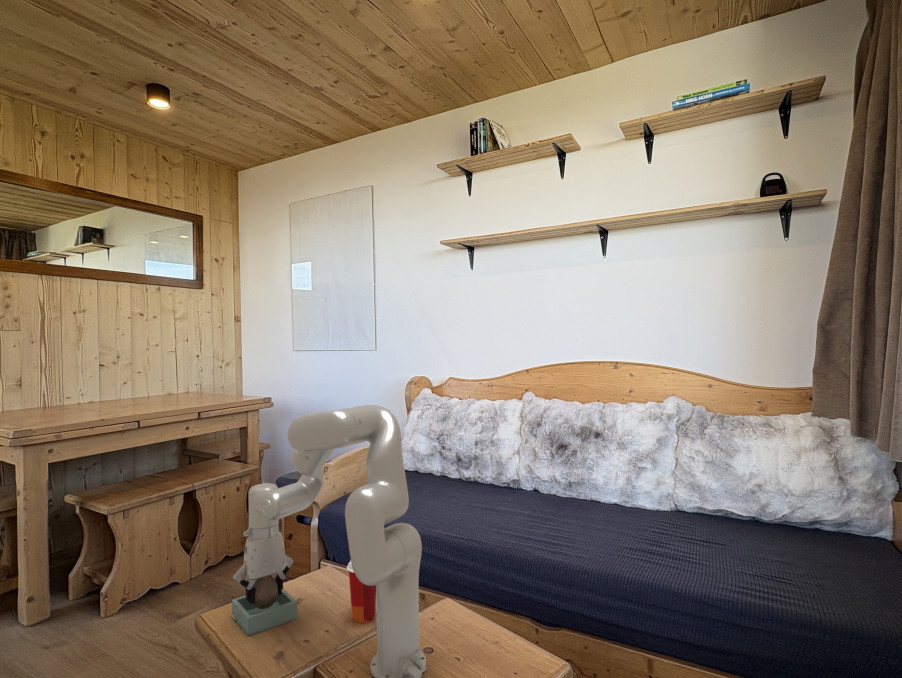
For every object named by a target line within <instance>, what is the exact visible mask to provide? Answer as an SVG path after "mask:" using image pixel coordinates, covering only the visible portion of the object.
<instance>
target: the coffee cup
mask: <svg viewBox="0 0 902 678" xmlns="http://www.w3.org/2000/svg"><path fill="white" fill-rule="evenodd" d="M346 570H347V571H348V575H349V576H348V578H349V580H348V581H349V591H350V604H351V616H352V620H353V622H354V623H357V624H367V623H369V622H371V621H373V620H374V619H375V617H376V589H377V585H374V586H368V585H365V584H363V583H362V582H361V581H360V580H359V579H358V578H357V576H356V575H355V573H354V570H353V567H352V563H351V560H350V561H349V562H348V564H347V566H346Z"/></svg>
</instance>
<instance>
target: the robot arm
mask: <svg viewBox="0 0 902 678" xmlns="http://www.w3.org/2000/svg"><path fill="white" fill-rule="evenodd" d="M287 440H288V443H289V445H290V447H292V449H294V450H293V452H292V453H291V456H290V463H291V465H292V467H293V468H294V469H295V470H296V471H297V473H300V474H301V476H300V478H299V479H298V480H297V482H295V483H292V484H291V483H290V484H288V485H285V486H281V487H278V486H277V485H276V484H274V483H270V482H269V483H267V482H266V483H259V484H255V485H253V486H251V487H250V488H249V490H248V526H247V530H245V531H243V537H247V538H246V541H245V546H244V553H243V564H242V565H241V567H240V568H239V569H238V570H236V572H235V574H233V577H232V578H233V579H234V580H235V581H236V582H237V583H239V584H240V585H241V586H242V587H244V588H245V596H246V600H247V601H248V602H249V603H250V604H253V603H254V588H252V586H253V584H254V582H255V581H256V579H259V578H262V577H265V576H269V575H271V576H273V575H275V574H276V575H275V577H274V579H275V580H276V582H277V585H278V594H279V595H281V594H282V589H284V579H285V576H286V574H288V572H289V571H290V568H291V566H292V565H293V563H294V559H293V558H291V557H290V556H288V555H287V554H286V551H285V543H284V537H283V534H282V532H280V530H279V520H281V519H283V518H285V517H287V516H290V515H294V514H297V513H298V512H301V511H304V510H306V509H308V508H309V507H310V506H311V505H312V504H313V503H314V502H315V500H316V498H317V497H318V495H319V494H320V492H321V490H322V488H323V486H324V480H325V478H324V475H325V474H324V470H323V468H324V467H325V464H326V463H327V462H328V460H329V458H330V456H331V455H332V453H333V452H334V450H335V449H336V450H337V449H342V448H346V447H350V446H355V445H357V444H360V443H361V444H362V443H365V442H368V443H369V447H368V449H367V453H366V461H365V462H366V463H365V466H366V470H367V471H366V473H367V484H364V485H361V486H359V487H357V488H356V489H354V490H353V491H352V492H351V493H350V494H349V496H348V497H347V500H346V502H345V508H344V519H345V527H346V535H347V543H348V549H349V556H350V561H351V563H352V567H353V570H354V573H355V575H356V576H357V578H358V579H359V580H360V581H361V582H362V583H363V584H365V585H368V586H374V585H376V606H375V613H376V654H375V655H373V657H372V659H371V660H370V664H369V667H370V668H369V669H370V673H371V675H372V676H373V677H374V678H422V677H423V673H424V672H426V671H427V668H428V666H427V658H426V655H425V654H424V652H423V651H422V650H420V615H419V612H420V610H419V608H420V607H419V597H420V596H419V594H420V593H419V579H420V577H419V575H420V574H419V573H420V566H421V558H422V552H423V551H422V550H423V547H422V545H423V544H422V539H421V535H420V534H419V532H418V530H417V529H416V528H415V527H414V526H413V525H412V524H409V523H406V522H405V523H404V522H399V523H398V522H397V523H394V524H391V525H388V526H387V527H385V525H387V524H390V523H391V522H393V521H395V520H397V519H399V518H401V517H402V516H403V515H404V514H405V513H406V512H407V511H408V508H409V504H410V500H409V499H410V498H409V490H408V484H407V483H408V482H407V476H406V471H405V464H404V457H403V447H402V432H401V427H400V423H399V421H398V419H397V417H396V416H395V415H394V414H393V412H391V411H390V410H389V409H387V408H386V407H383V406H381V405H377V404H369V405H368V404H367V405H359V406H353V407H347V408H342V409H341V408H340V409H335V410H329V411H319V412H313V413H312V412H311V413H308V414H301V415H299V416H296V418H294V419H293V420H292V421H291V423H290V424H289V426H288V430H287ZM243 575H245V576H246V578H245V579H244V578H243Z"/></svg>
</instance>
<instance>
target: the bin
mask: <svg viewBox="0 0 902 678" xmlns="http://www.w3.org/2000/svg"><path fill="white" fill-rule="evenodd" d="M232 615H233V617H234V618H235V620H236V621H237V622H238V623H237V622H236V621H235V620H234V621H235V622H236V623H237V625H238V624H239V625H240V626H241V627H240V626H239V625H238V626H239V627H240V628H241V630H242V629H243V630H242V631H243V632H244V634H246V636H247V637H248V638H249V637H252V636H253V635H256V634H259V633H263V632H264V631H267V630H270V629H273V628H276V627H278V626H280V625H284V624H287V623H289V622H291V621H294V620H297V619H298V617H299V616H298V601H297V599H295V598H294V597H293V596H292V595H291V594H289V593H288V591H286V590H285V589H284V588H283V589H282V594H281V595H279V594H278V596H277V599H276V601H275V603H274V604H273V605H272V606H271V607H269V608H266V609H259V608H257V607H256V606H255V605H254V604H250V603H249V602H248V601H247V600H246V595H243V596H240V597H237V598H233V599H232V600H231V616H232ZM233 617H232V618H233Z"/></svg>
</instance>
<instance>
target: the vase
mask: <svg viewBox="0 0 902 678" xmlns="http://www.w3.org/2000/svg"><path fill="white" fill-rule="evenodd" d="M252 588H254V603H253V604H254V605H255V606H256V607H257V608H259V609H266V608H269V607H271V606H272V605H273V604H274V603H275V601H276V599H277V596H278V585H277V582H276V580H275V577H274V576H273V575H269V576H265V577H262V578H259V579H255V581H254V583H253V586H252Z"/></svg>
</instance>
